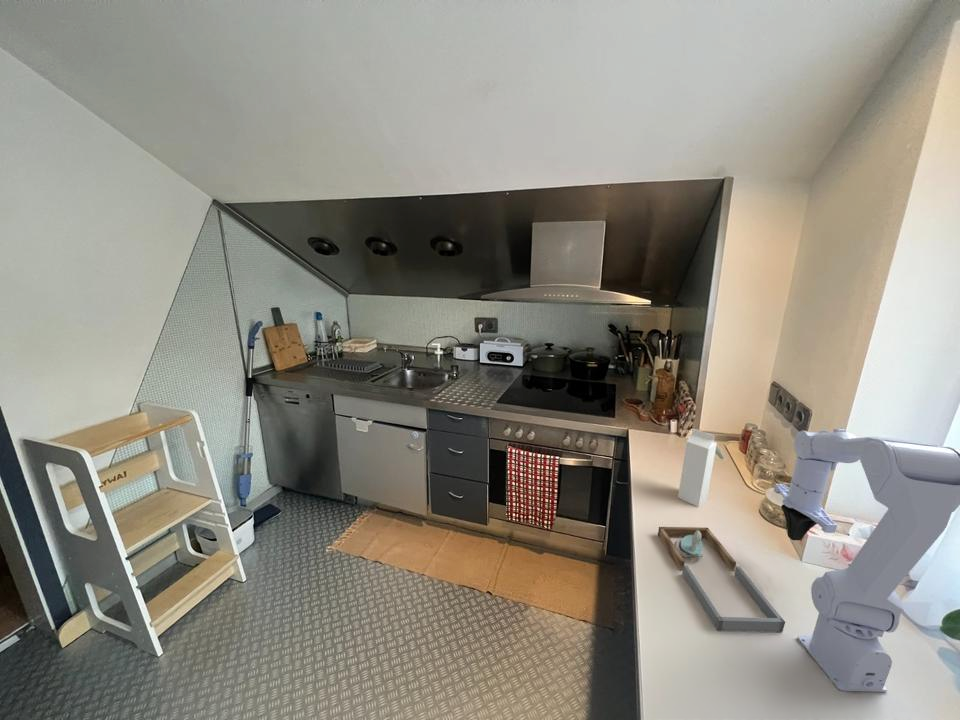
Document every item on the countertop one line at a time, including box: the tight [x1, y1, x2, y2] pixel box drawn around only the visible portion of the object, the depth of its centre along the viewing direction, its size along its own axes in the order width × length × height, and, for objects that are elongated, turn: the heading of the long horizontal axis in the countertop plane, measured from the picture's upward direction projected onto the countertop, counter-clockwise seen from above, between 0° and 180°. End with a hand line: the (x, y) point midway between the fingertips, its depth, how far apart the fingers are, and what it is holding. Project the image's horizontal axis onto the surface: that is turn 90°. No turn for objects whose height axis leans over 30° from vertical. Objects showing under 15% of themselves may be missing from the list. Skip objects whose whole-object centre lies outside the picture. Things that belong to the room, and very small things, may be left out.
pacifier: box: [674, 530, 704, 558], centre depth 95 cm, size 7×6×6 cm
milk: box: [677, 428, 718, 508], centre depth 113 cm, size 6×6×22 cm
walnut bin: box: [657, 526, 737, 572], centre depth 95 cm, size 12×13×2 cm
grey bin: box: [681, 564, 786, 633], centre depth 81 cm, size 14×13×2 cm
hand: (794, 538), depth 87 cm, fingers closed
